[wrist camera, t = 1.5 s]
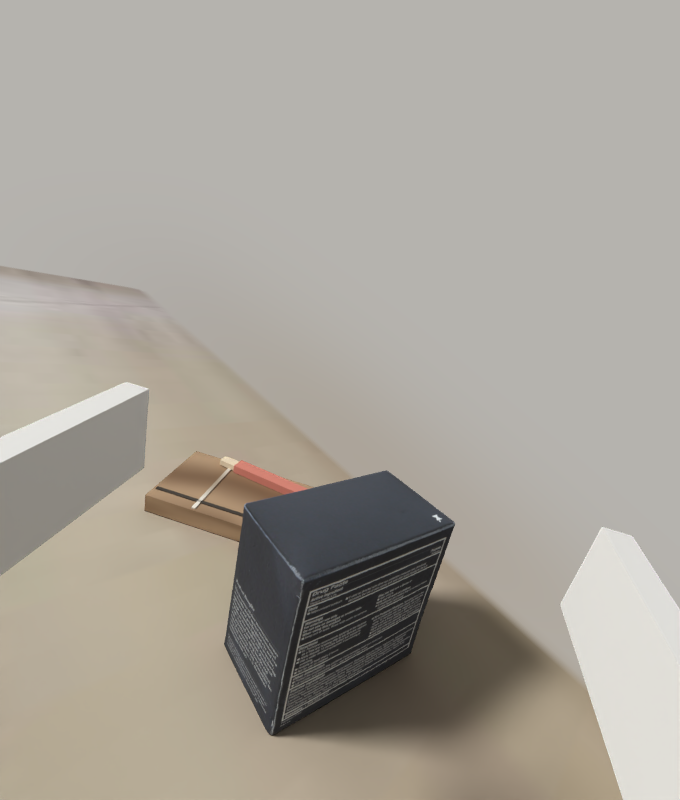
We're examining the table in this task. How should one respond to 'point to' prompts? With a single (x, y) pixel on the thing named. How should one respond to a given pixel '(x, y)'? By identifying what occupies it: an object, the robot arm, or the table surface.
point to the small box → (329, 590)
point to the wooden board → (207, 496)
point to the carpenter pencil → (261, 476)
